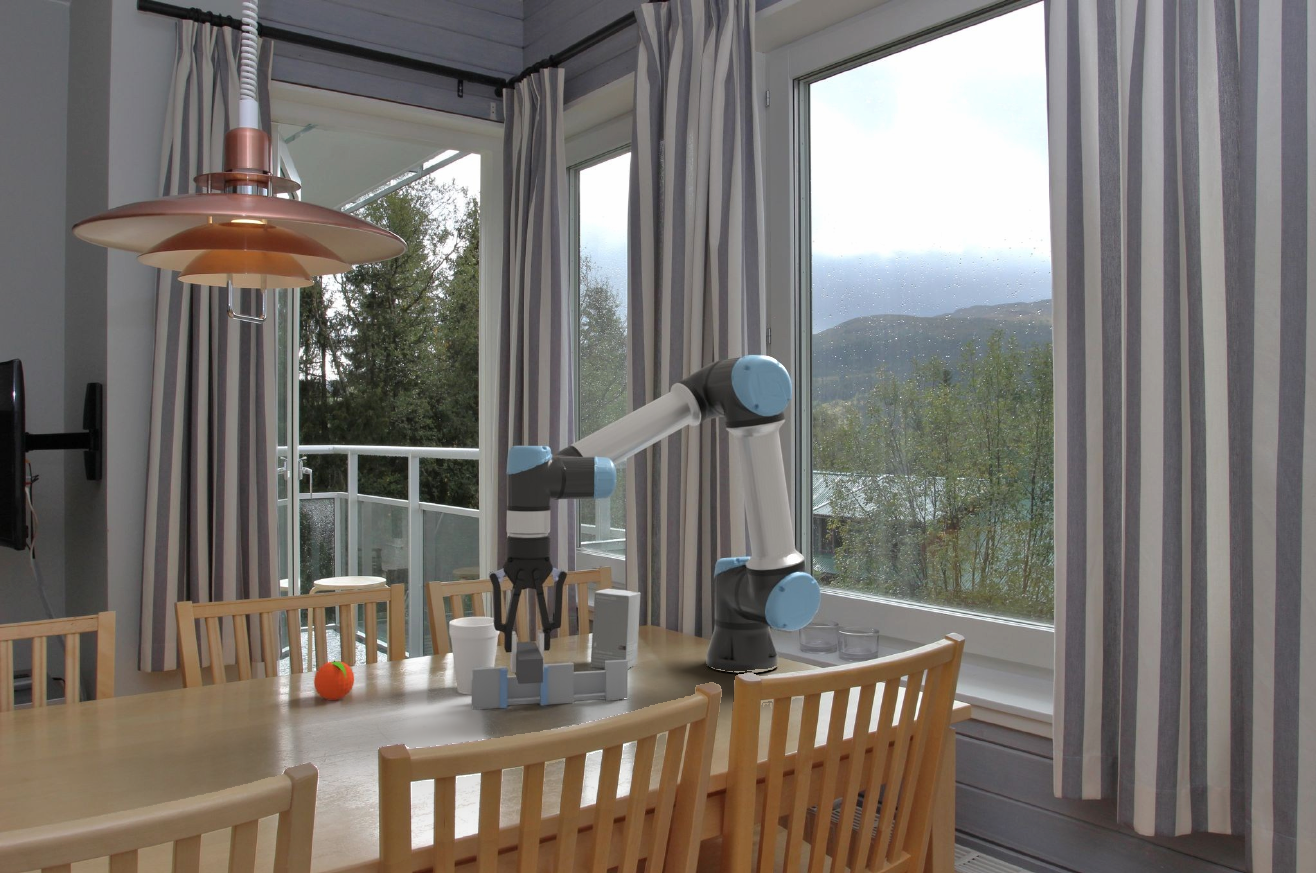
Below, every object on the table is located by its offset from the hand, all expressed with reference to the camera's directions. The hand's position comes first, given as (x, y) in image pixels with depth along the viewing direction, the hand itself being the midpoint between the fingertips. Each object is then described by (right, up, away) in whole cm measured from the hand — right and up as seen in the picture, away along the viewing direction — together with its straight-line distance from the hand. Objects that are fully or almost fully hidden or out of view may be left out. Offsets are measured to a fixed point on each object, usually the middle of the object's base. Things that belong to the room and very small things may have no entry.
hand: (527, 669), depth 162 cm
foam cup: (-12, -8, +17) cm, 22 cm away
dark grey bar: (0, -1, 0) cm, 1 cm away
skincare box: (+14, -8, +36) cm, 39 cm away
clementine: (-36, -8, +9) cm, 38 cm away
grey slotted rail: (+3, -8, +9) cm, 12 cm away
